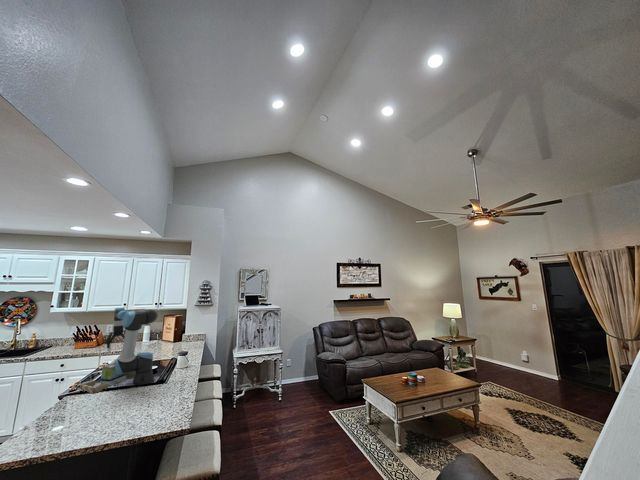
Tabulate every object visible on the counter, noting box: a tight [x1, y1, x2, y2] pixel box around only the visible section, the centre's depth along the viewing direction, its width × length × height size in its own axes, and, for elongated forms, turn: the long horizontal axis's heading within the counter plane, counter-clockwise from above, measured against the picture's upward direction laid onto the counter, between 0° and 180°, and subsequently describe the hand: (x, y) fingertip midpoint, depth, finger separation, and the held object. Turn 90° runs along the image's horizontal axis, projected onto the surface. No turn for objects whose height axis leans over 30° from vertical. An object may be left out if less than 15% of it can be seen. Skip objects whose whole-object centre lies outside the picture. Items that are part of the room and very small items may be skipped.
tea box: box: [99, 362, 127, 386], centre depth 233 cm, size 15×10×15 cm
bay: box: [79, 380, 109, 394], centre depth 218 cm, size 18×10×4 cm, turn 67°
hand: (117, 349), depth 246 cm, fingers open, 13 cm apart
